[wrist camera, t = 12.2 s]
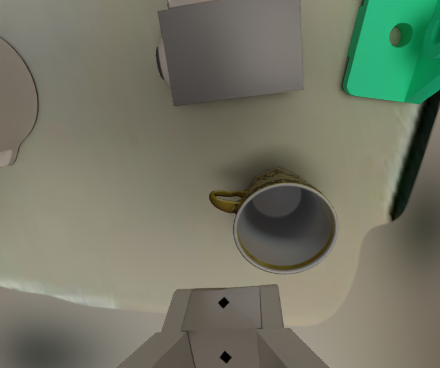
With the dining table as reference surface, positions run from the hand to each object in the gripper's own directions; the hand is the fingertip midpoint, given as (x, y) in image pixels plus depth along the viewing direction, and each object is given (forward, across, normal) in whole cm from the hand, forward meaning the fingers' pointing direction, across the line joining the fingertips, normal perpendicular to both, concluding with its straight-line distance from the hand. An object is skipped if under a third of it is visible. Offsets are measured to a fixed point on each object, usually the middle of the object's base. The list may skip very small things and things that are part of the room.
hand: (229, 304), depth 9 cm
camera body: (+29, 0, -8) cm, 30 cm away
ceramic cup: (+29, -2, +8) cm, 30 cm away
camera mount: (+30, -16, -7) cm, 34 cm away
